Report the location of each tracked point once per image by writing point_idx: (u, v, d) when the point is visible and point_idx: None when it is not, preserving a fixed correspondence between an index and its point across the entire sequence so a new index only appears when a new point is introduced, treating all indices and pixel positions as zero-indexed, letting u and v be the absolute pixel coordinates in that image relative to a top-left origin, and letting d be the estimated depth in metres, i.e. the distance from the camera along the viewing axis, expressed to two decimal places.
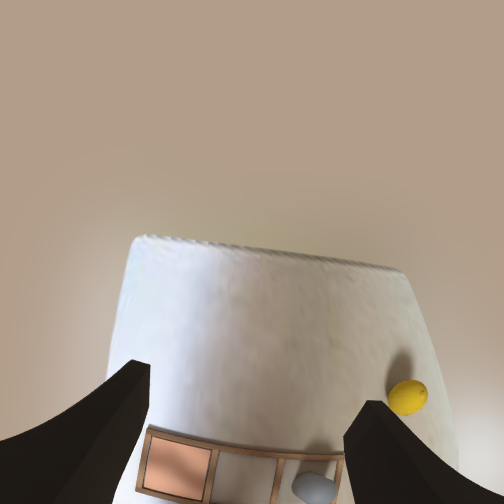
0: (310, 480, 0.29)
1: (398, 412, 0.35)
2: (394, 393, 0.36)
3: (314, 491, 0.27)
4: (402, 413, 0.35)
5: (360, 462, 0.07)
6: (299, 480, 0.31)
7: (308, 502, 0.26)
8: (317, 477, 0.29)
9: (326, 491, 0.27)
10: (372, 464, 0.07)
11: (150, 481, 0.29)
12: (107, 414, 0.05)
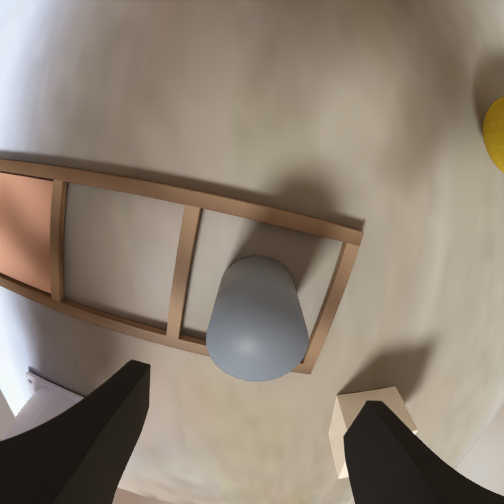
0: (233, 293, 0.13)
1: None
2: (503, 107, 0.10)
3: (235, 333, 0.12)
4: None
5: (360, 462, 0.07)
6: (227, 278, 0.16)
7: (217, 360, 0.13)
8: (258, 286, 0.13)
9: (274, 341, 0.12)
10: (372, 464, 0.07)
11: None
12: (107, 414, 0.05)
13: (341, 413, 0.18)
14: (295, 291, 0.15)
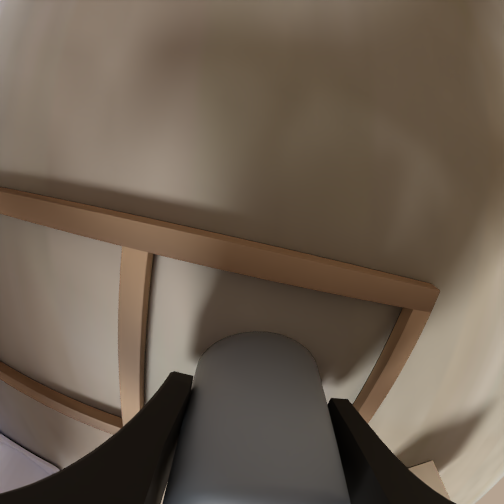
0: (208, 450, 0.05)
1: None
2: None
3: None
4: None
5: None
6: (202, 382, 0.08)
7: None
8: (260, 441, 0.05)
9: None
10: None
11: None
12: (163, 432, 0.05)
13: None
14: (326, 405, 0.08)
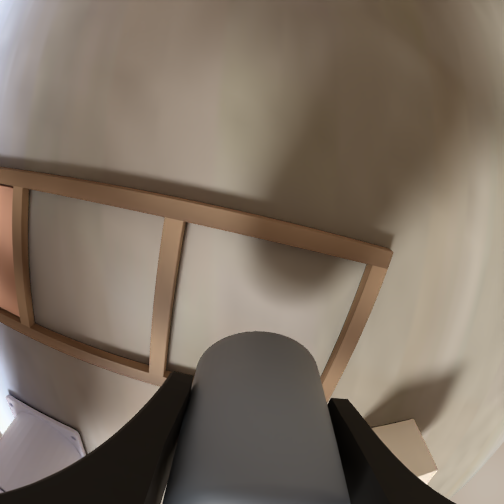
0: (208, 449, 0.05)
1: None
2: None
3: None
4: None
5: None
6: (202, 381, 0.08)
7: None
8: (260, 440, 0.05)
9: None
10: None
11: None
12: (163, 432, 0.05)
13: None
14: (325, 404, 0.08)
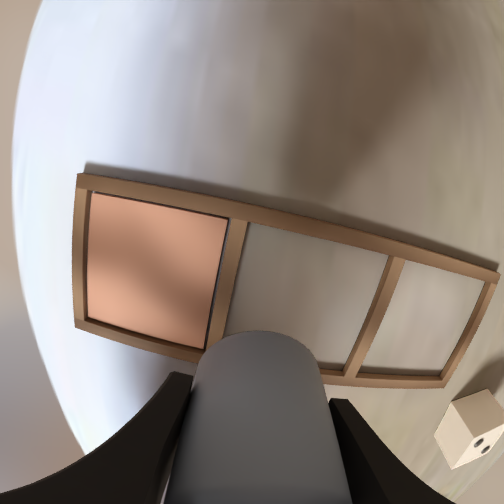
0: (209, 449, 0.05)
1: None
2: None
3: None
4: None
5: None
6: (203, 381, 0.08)
7: None
8: (261, 440, 0.05)
9: None
10: None
11: (98, 304, 0.17)
12: (163, 432, 0.05)
13: (458, 415, 0.18)
14: (327, 404, 0.07)
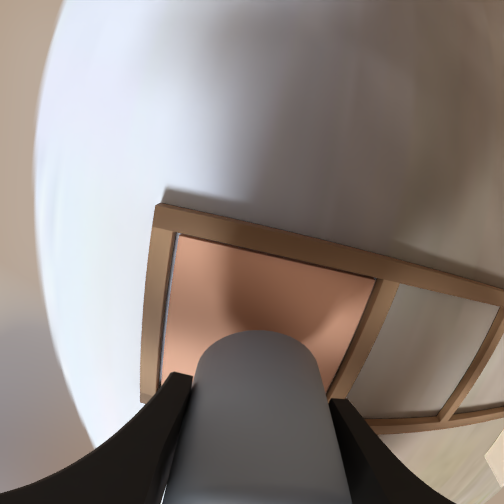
0: (208, 449, 0.05)
1: None
2: None
3: None
4: None
5: None
6: (202, 380, 0.08)
7: None
8: (260, 439, 0.05)
9: None
10: None
11: None
12: (163, 432, 0.05)
13: None
14: (326, 403, 0.07)
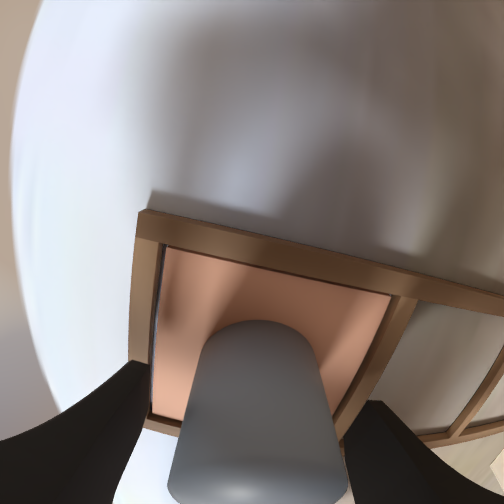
0: (212, 425, 0.06)
1: None
2: None
3: (217, 489, 0.05)
4: None
5: (360, 462, 0.07)
6: (205, 366, 0.08)
7: None
8: (261, 416, 0.06)
9: (289, 496, 0.05)
10: (372, 464, 0.07)
11: (170, 401, 0.11)
12: (107, 414, 0.05)
13: None
14: (323, 388, 0.08)
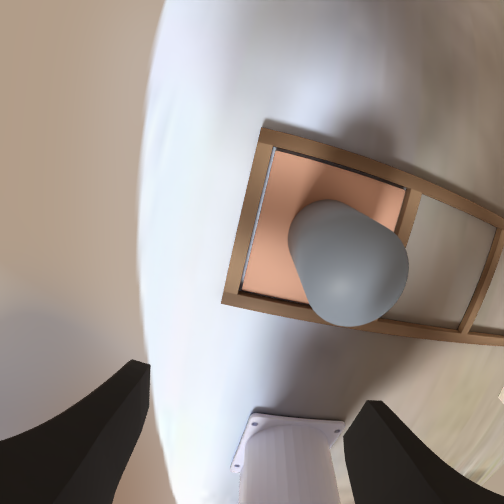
0: (335, 220, 0.11)
1: None
2: None
3: (339, 264, 0.11)
4: None
5: (360, 462, 0.07)
6: (307, 216, 0.14)
7: (313, 300, 0.11)
8: (359, 216, 0.11)
9: (377, 275, 0.11)
10: (372, 464, 0.07)
11: (259, 274, 0.17)
12: (107, 414, 0.05)
13: None
14: None
